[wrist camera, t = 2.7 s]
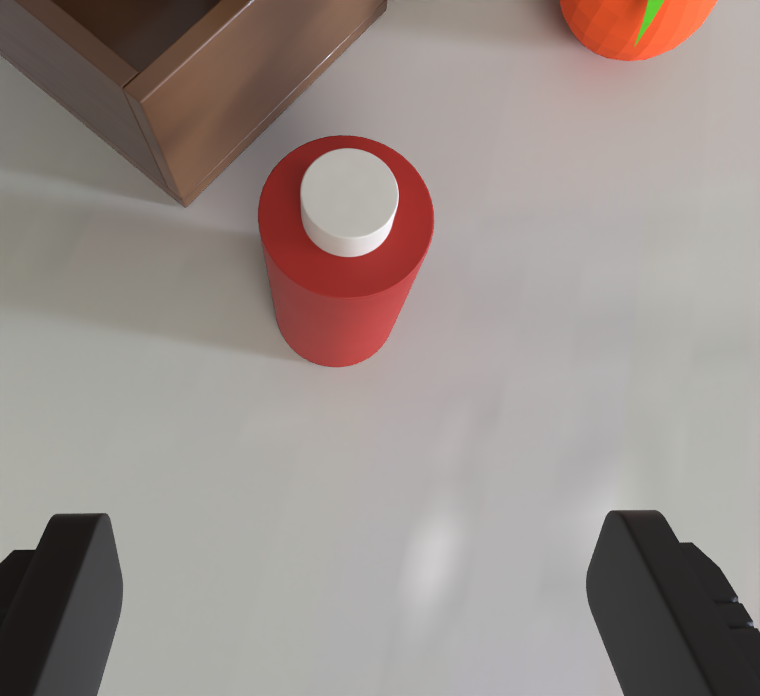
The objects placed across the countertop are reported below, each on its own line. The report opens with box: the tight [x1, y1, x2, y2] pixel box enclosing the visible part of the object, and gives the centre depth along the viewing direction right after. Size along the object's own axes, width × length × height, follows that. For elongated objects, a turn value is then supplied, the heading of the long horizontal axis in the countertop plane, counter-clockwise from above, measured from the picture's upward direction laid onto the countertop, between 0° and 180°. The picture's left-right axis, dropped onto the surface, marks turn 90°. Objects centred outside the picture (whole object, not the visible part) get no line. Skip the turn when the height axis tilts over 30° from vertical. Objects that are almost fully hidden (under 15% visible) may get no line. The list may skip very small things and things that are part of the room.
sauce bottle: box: [258, 135, 434, 367], centre depth 23 cm, size 5×5×11 cm
